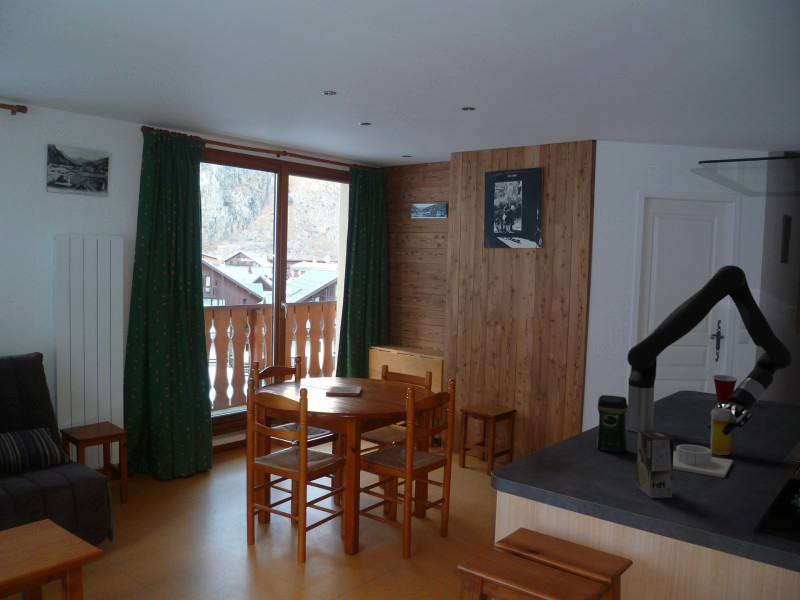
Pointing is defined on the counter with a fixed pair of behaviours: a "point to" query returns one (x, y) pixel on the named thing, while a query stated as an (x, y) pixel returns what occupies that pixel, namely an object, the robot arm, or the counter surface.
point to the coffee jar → (612, 423)
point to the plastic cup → (724, 387)
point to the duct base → (706, 470)
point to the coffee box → (655, 464)
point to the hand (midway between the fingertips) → (716, 430)
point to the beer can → (720, 431)
